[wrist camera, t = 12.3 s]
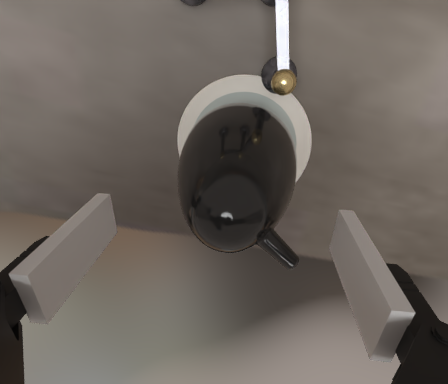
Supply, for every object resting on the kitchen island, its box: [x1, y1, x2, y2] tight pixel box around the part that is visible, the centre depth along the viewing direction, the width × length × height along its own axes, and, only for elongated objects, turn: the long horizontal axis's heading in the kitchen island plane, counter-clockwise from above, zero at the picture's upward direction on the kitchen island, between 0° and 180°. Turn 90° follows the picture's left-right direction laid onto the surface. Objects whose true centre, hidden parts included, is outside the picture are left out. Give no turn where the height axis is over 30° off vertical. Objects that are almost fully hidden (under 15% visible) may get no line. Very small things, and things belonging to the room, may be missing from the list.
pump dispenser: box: [178, 103, 299, 270], centre depth 22 cm, size 10×10×15 cm
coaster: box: [177, 74, 312, 183], centre depth 29 cm, size 14×14×1 cm
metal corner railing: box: [181, 0, 297, 96], centre depth 21 cm, size 11×10×8 cm
